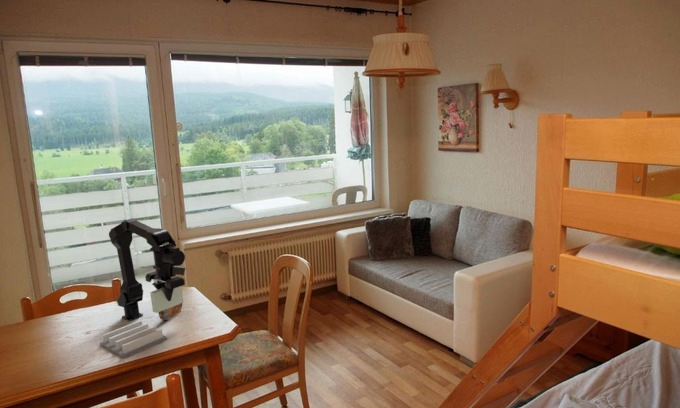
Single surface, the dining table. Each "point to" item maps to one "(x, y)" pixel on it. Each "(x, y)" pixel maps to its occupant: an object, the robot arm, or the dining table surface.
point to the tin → (170, 312)
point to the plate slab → (165, 299)
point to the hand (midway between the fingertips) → (167, 300)
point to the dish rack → (132, 339)
